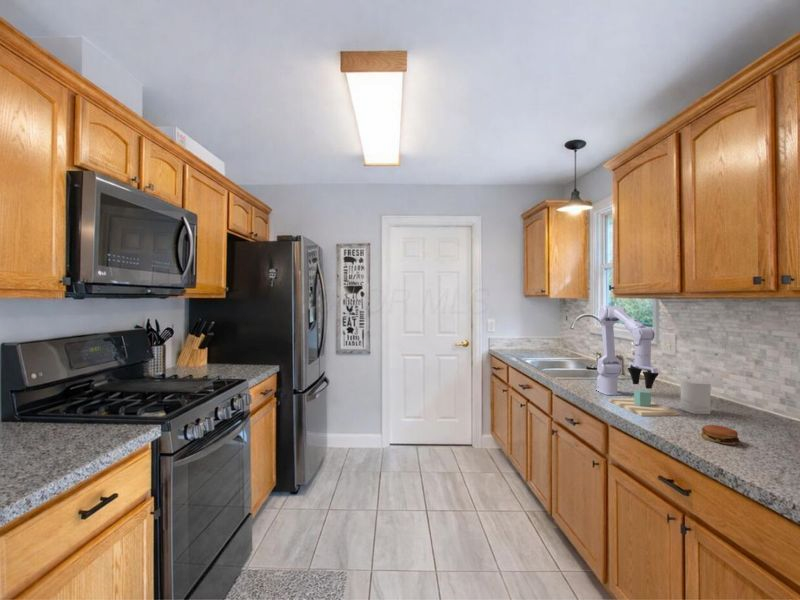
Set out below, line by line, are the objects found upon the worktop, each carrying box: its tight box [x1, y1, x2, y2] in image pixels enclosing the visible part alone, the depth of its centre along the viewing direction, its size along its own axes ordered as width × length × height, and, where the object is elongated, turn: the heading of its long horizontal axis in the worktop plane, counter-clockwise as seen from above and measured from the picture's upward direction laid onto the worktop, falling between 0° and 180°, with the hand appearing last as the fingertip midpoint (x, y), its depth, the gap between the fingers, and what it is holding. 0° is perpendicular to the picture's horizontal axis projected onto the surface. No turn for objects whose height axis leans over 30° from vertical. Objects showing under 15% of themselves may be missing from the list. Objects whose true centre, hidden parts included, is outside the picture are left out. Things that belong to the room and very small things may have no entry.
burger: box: [700, 424, 741, 446], centre depth 123 cm, size 10×9×5 cm
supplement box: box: [679, 379, 712, 415], centre depth 155 cm, size 7×7×13 cm
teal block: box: [633, 389, 652, 407], centre depth 158 cm, size 4×4×6 cm
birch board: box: [608, 397, 679, 417], centre depth 158 cm, size 20×16×2 cm
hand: (642, 386), depth 158 cm, fingers open, 7 cm apart
